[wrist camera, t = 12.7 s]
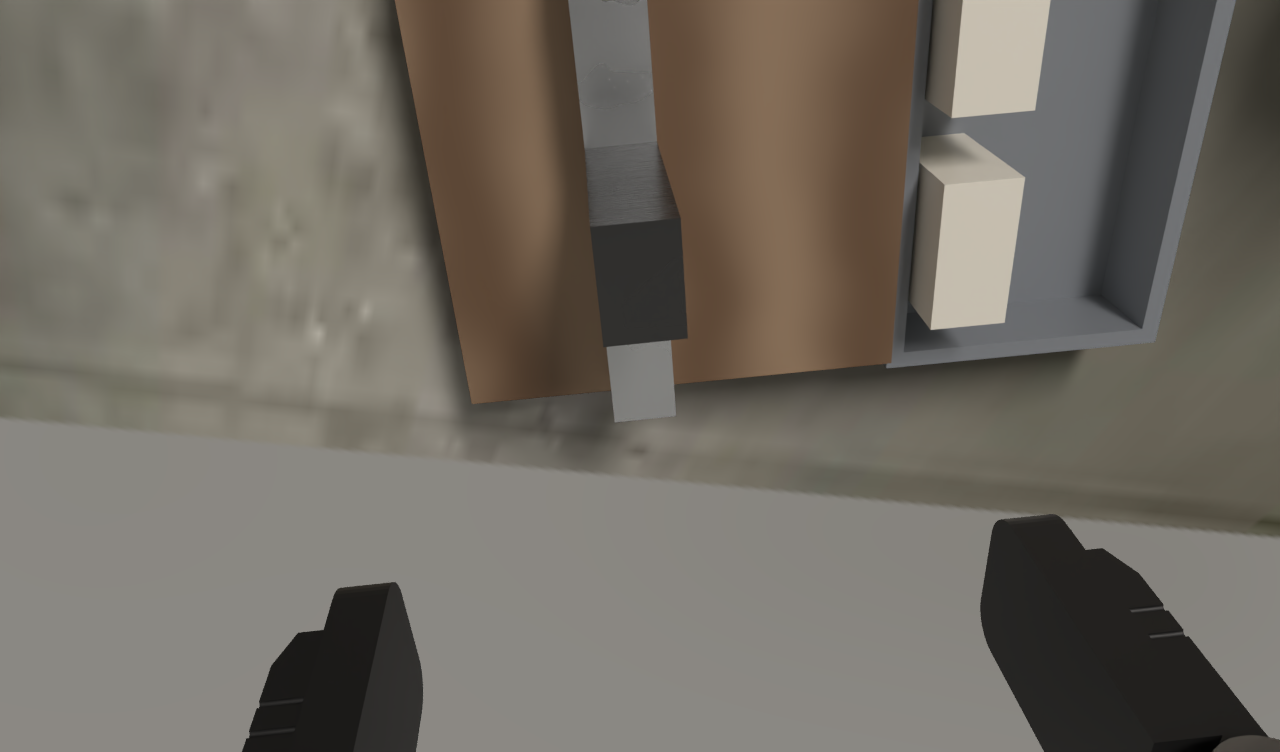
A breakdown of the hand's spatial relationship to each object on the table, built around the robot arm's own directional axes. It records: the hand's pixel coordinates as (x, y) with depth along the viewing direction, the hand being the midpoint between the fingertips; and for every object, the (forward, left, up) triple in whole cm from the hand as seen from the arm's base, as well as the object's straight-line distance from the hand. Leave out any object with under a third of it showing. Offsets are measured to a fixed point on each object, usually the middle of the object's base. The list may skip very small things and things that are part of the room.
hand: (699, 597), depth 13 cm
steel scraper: (0, 0, -19) cm, 19 cm away
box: (+14, 0, -23) cm, 27 cm away
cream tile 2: (+10, -3, -20) cm, 22 cm away
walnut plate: (+2, 0, -23) cm, 23 cm away
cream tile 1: (+10, +4, -20) cm, 23 cm away
